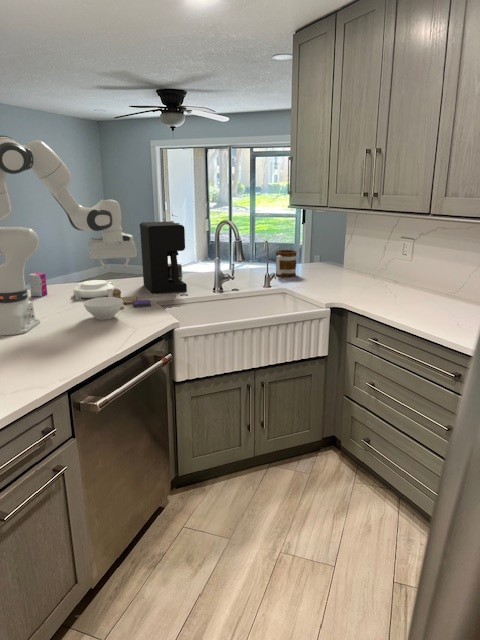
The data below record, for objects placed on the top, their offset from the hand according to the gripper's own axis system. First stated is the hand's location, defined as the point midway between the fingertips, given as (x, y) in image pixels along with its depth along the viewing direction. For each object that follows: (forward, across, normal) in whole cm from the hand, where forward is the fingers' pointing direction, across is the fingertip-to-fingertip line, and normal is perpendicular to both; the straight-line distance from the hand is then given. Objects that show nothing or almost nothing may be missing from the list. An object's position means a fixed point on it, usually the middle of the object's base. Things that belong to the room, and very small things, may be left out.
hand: (115, 267), depth 205 cm
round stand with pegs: (+20, -13, +28) cm, 36 cm away
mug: (+20, +96, +54) cm, 113 cm away
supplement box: (+19, -40, +33) cm, 55 cm away
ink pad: (+19, +11, +3) cm, 22 cm away
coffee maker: (+19, +24, +35) cm, 46 cm away
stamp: (+19, 0, 0) cm, 19 cm away
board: (+19, +3, +11) cm, 22 cm away
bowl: (+19, -5, -15) cm, 25 cm away
